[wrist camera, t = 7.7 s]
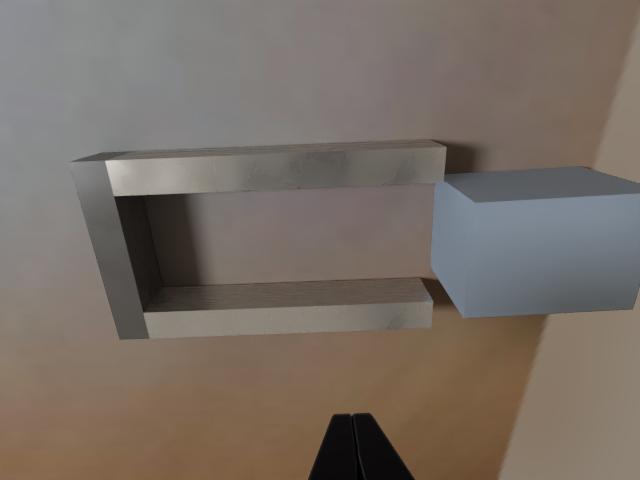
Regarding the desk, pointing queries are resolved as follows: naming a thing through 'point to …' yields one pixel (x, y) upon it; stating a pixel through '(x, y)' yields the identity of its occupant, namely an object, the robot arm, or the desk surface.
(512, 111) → the desk surface
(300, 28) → the desk surface
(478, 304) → the block
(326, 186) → the white u-shaped frame
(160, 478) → the desk surface
